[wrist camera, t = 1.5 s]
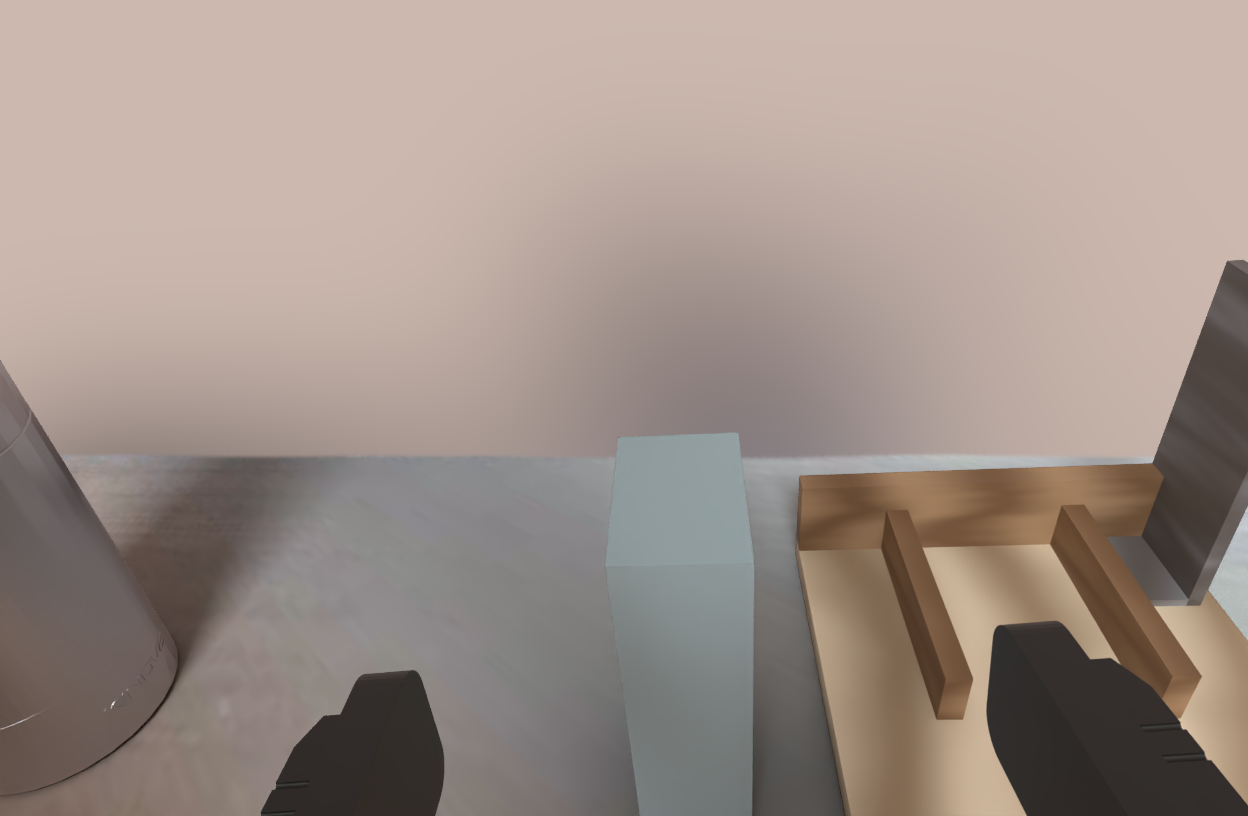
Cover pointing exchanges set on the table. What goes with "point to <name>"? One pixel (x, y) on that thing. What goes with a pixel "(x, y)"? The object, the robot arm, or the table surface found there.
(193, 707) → the table surface
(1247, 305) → the wooden holder stand
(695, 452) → the pale blue rectangular block
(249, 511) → the table surface
